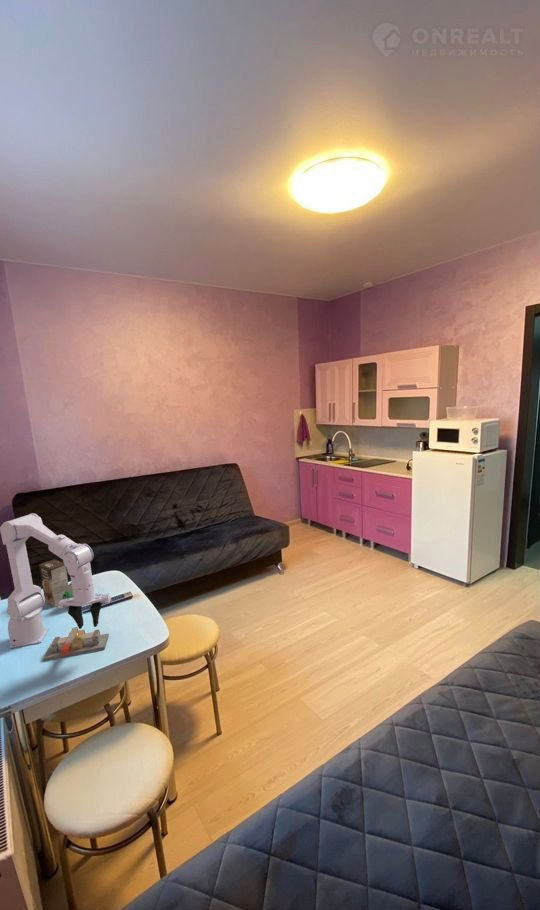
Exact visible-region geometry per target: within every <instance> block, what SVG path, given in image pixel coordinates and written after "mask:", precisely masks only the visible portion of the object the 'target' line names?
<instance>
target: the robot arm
mask: <svg viewBox="0 0 540 910" xmlns="http://www.w3.org/2000/svg"><path fill="white" fill-rule="evenodd" d="M0 534H1V541H2V545H4V546H6V551H7V555H8V562H9V566H10V571H11V575H12V580H13V581H12V582H13V587H14V590H13V591H12V592H11V594H9V596H8V598H7V599H6V600H7V607H6V610H7V611H6V612H7V614H8V617H10V618H9V620H8V622H7V631H8V637H9V642H10V645H9V648H13V649H14V648H17V647H24V646H28V645H29V646H30V645H33V644H39V643H42V641H43V639H44V638H45V636H46V634H47V633H48V631H49V628H48V627H45V628H44V623H43V618H42V610H43V607H44V606H45V603H46V602H45V597H44V592H43V590H42V588H41V586H38V585H36V584H34V583H33V578H32V572H31V566H30V561H29V557H28V551H27V546H26V541H27V540H28V539H29V538H30V537H32V538H35V539H36V540H38V541H40V542H42V543H44V544H46V545H48V550H49V552H51V553H53V554H54V555H55V556H57V557H58V558H60V559H61V560H62V563H64V564H65V566H66V571H67V574H68V575H69V576H70V581H71V582H70V583H72V589H73V596H74V597H72V598H68V599H63V600H61V601H60V602H59V606H58V607H59V609H64V608H67V607H68V610H67V613H68V615H70V616H71V618H73V620H74V621H75V623H76V625H77V627H78V630H82V628H83V626H84V617H83V607H84V606H88V605H91V606H90V607H89V612H90V614H91V617H92V624H93V628H96V627H98V625H99V619H100V618H99V617H100V613H101V608H102V605H103V604H104V603H105V604H110V602H111V600H112V598H111V594H110V593H109V594H108V593H107V594H103V593H102V594H101V593H95V588H94V581H93V575H92V567H91V562H92V561H93V559H94V556H95V554H94V551H93V549H92V548H91V547H90V545H88V544H87V543H76V542H75V541H73V540H72V539H71V538H69V537H67V536H66V535H64V534H58V535H57V534H56V533H54V531H52V530H51V529H49V528H48V527H47V526H46V525H44V524H43V519H42V518H41V516H39V515H38V514H37V513H34V512H33V513H29V514H27V515H24V516H20V517H17V518H14V519H11V520H7V521H4V522H3V523H2V524H1V526H0Z"/></svg>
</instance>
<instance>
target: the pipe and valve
mask: <svg viewBox="0 0 540 910" xmlns="http://www.w3.org/2000/svg"><path fill="white" fill-rule="evenodd" d="M85 631H86V630H85V629H78V634H77V635H76V637H75V639H74V642H73V644H72V649H71V650H76V649H81V648H83V647H84V646H89V645H93V646H95V645H98V644H99V643H100V640H101V636H100V635H101V630H100V629H95V630H94V631H91V632H85ZM69 635H70V632H69V633H68V635H67V636H65V637H60V636H56V637H54V639H52V641H51V643H50V644H51V648H52V652H53V653H58V651H61V649H62V647H63V645H64V644H65V643H66V641H67V639H68V637H69Z"/></svg>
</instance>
